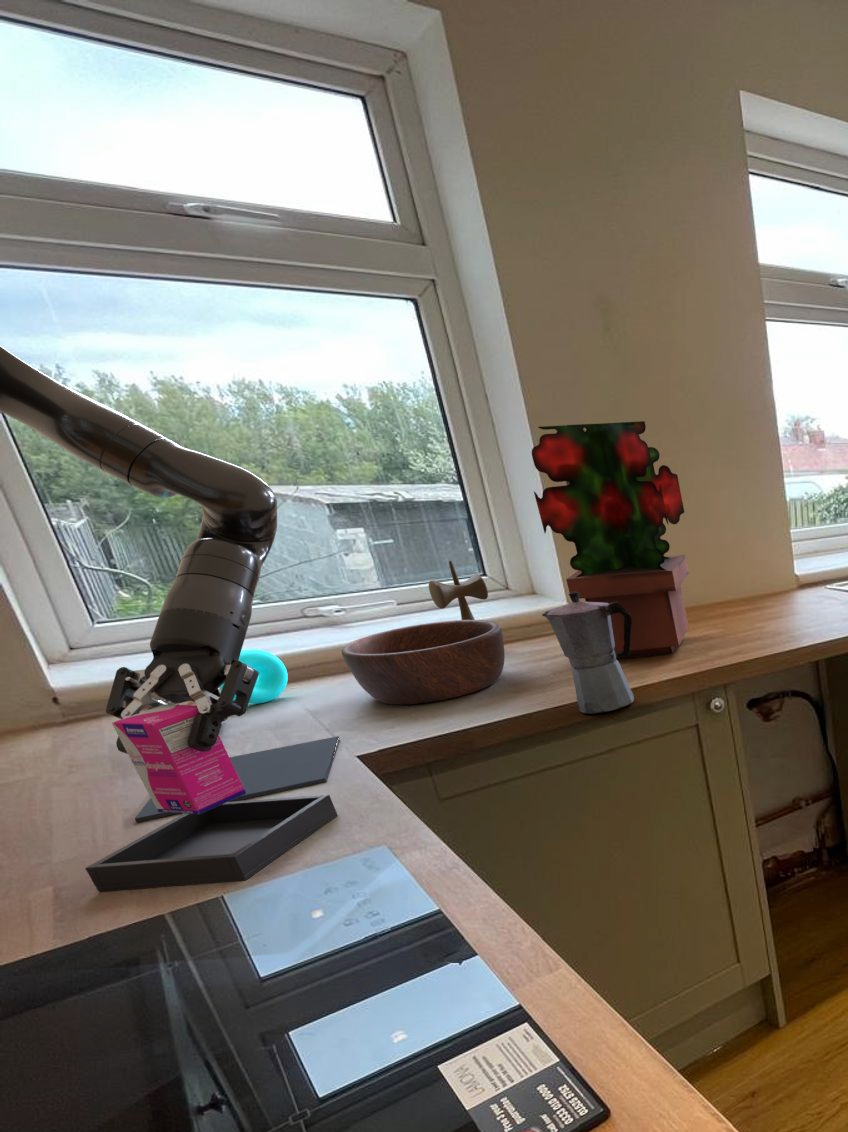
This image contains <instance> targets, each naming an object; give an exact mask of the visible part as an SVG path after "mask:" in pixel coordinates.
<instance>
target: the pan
mask: <svg viewBox="0 0 848 1132" xmlns="http://www.w3.org/2000/svg"><path fill="white" fill-rule="evenodd" d="M338 815H339V814H338V812H337V810H336V808H335V805H334V803H333V800H332V798H331V795H330V794H319V795H306V796H305V795H304V796H292V797H291V796H290V797H277V798H263V799H250V800H249V799H247V800H239V801H234V802H226V803H224V804H222V805H219V806H217V807H215V808H213V809H211V810H208V811H206V812H204V813H202V814H199V815H197V814H187V813H181V814H180V815H178V816H176V817H175V818H172V819H171V820H169V821H168V822H165V823H164V824H162V825H161V826H159V827H157V828H155V829H153V830H151V831H150V832H148V833H145V834H144V835H142V836H140V837H138V838H137V839H135V840H134V841H131V842H130V843H127V844H126V845H124V846H123V847H121V848H119V849H116V850H115V851H113V852H111V853H110V854H108V855H106V856H104V857H103V858H101V859H99V860H97V861H95V862H94V863H92V864H90V865H88V866H86V867H85V868H84V869H85V871H86V872H87V874H88V876H89V877H90V879H91V881H92V883H93V885H94V886H95V888H96V890H97V892H98V893H101V892H113V891H125V890H137V889H138V890H139V889H152V888H153V889H154V888H163V887H166V888H167V887H177V886H190V885H191V886H192V885H202V884H203V885H204V884H216V883H228V882H240V881H241V882H242V881H247V880H248V879H250V878H251V877H252V876H254V875H256V873H258V872H259V871H261V870H263V869H264V868H265V867H267V866H268V865H270V864H271V863H273V862H274V861H275V860H277V859H278V858H280V857H282V856H283V855H284V854H286V853H287V852H289V851H290V850H291V849H293V848H294V847H295V846H297V845H299V843H301V842H302V841H304V840H305V839H307V838H308V837H309V836H311V835H313V834H314V833H315V832H317V831H318V830H320V829H321V828H322V827H324V826H326V825H328V823H330V822H331V821H333V820H335V818H337V817H338Z"/></svg>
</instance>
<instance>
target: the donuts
mask: <svg viewBox="0 0 848 1132" xmlns="http://www.w3.org/2000/svg"><path fill="white" fill-rule="evenodd" d="M238 661H241V662H242V663H244V664H247V665H248V666H250V667H252V668H253V669H255V670H257V671H258V672H259V675H258V678H257V681H256V684H255V686H254V689H253V692H252V695H251V698H250V701H249V703H248V704H257V705H258V704H264V703H268V702H271V701H273V700H275V699H277V698H279V696H281V694H283V692H284V691H285V690H286V688H287V685H288V682H289V681H288V680H289V675H288V671H287V668H286V666H285V664H284V662H283V661H282V660H281V659H280V658H279V657H278V656H276V655H275V654H273V653H271V652H269V651H266V650H263V649H257V648H256V649H255V648H249V649H242V650H241V653H240V656H239V660H238ZM224 683H225V682H224ZM224 683H223V684H222V685H221V687H220V688H221V691H222V688H223V685H224ZM235 699H236V694H235V696H234V698H233V701H232V702H235Z"/></svg>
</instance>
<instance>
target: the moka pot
mask: <svg viewBox="0 0 848 1132" xmlns="http://www.w3.org/2000/svg"><path fill="white" fill-rule="evenodd" d="M568 596H569V599H570V601H571V602H569V603H567V604H564V605H561V606H558V607H553V608H550V609H548V610H545V611H544V612H543V613H542V614H541V615H542V617H545V618H546V619H547V620H548V622H549V624H550V627H551V628H552V630H553V633H554V635H555V637H556V639H557V641H558V644H559V646H560V648H561V650H562V652H563V654H564V657H565V658H567V659H568V661H569V663H570V664H569V665H570V667H572V679H573V684H574V690H575V695H576V703H577V707H578V711H579V712H580V713H582V714H586V715H592V714H602V713H607V712H612V711H616V710H618V709H621V708H624V707H626V706H628V705H631V704H633V702H634V701H635V696H634V694H633V691H632V689H631V686H630V685H629V683H628V680H627V678H626V676H625V674H624V672H623V669H622V666H621V664H620V661H619V660H617V659H616V657H618V658H619V659H624V658H623V657H627V656H630V647H631V644H630V641H631V629H632V627H631V626H632V620H631V614H630V613H629V612H627V610H626V609H624V608H623V607H621V605H620V604H618V602H613V603H611V604H608V603H602V602H586V601H583V600H580V599H579V592H571V593H569V592H568ZM616 613H621V614H622V615H623V616H624V642H625V643H624V647H623V650H624V651H623V652H617V653H616V654H615V651H614V647H615V642H614V635H613V629H612V623H611V616H610V615H614V614H616Z"/></svg>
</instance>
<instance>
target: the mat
mask: <svg viewBox="0 0 848 1132" xmlns="http://www.w3.org/2000/svg"><path fill="white" fill-rule="evenodd" d="M338 738H339V739H340V737H339V736H332V737H327V738H326V737H325V738H321V739H316V740H311V741H307V742H301V743H296V744H290V745H286V746H280V747H275V748H271V749H265V750H260V751H254V752H251V753H244V754H240V755H235V756H229V758H230V760H231V762H232V764H233V766H234V768H235V770H236V772H237V775H238V777H239V779H240V781H241V783H242V785H243V787H244V789H245V791H246V794H244V795H242V796H240V797H237V798H235V799H233V800H231V801H228V802H234V801H245V800H249V799H253V798H256V797H262V796H266V795H272V794H275V793H280V792H284V791H289V790H294V789H299V788H303V787H308V786H309V787H310V786H313V785H318V784H322V783H326V782H327V780H328V777H329V774H330V770H331V768H332V765H333V762H332V761H334V759H333V756H334V757H335V755H334V752H335V747H336V743H337V740H338ZM335 753H336V752H335ZM178 814H180V813H172V812H158V810H157V808H156V806H155V805H154V803H153V801H152V799H151V797H150V798H149V800H148V801H146V804H145V805H144V806H143V807H142V808H141V809H140V811H139V812H138V813H137V815H136V816H135V818H134V821H135V822H136V823H141V822H146V821H150V820H155V819H159V818H164V817H169V816H174V815H178Z"/></svg>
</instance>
